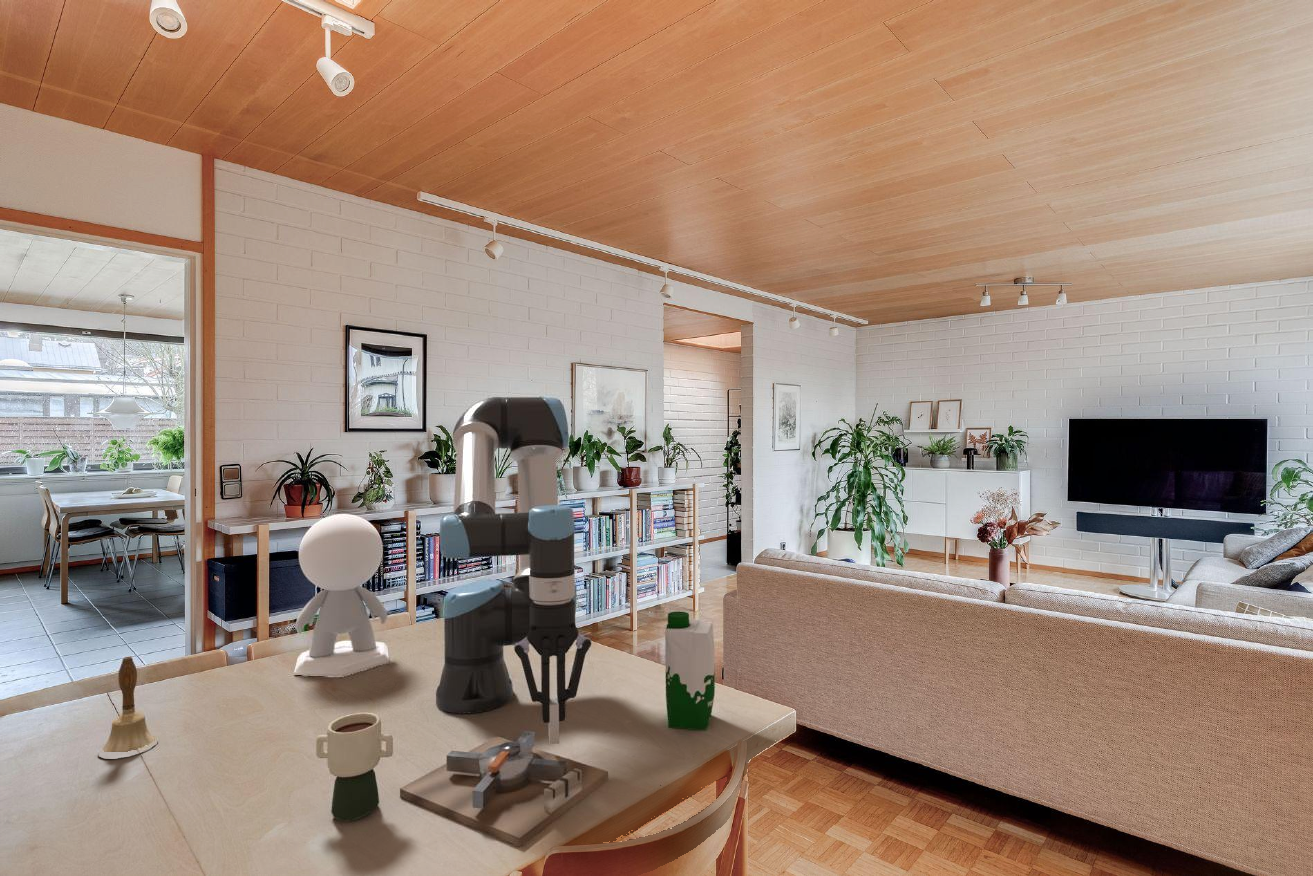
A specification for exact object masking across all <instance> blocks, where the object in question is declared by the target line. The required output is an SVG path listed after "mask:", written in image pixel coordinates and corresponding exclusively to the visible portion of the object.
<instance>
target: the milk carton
mask: <svg viewBox="0 0 1313 876" xmlns="http://www.w3.org/2000/svg"><path fill="white" fill-rule="evenodd" d="M664 636H665V637H664V638H665V640H664V641H665V646H664V647H665V652H664V653H665V701H666V715H667V725H668V726H667V727H668V728H672V729H685V730H697V731H698V730H699V731H707V730H708V727H709V724H710V719H711V716H712V711H713V707H714V699H715V691H716V690H715V688H716V687H715V686H716V684H715V681H716V680H715V679H716V676H715V674H716V673H715V672H716V671H715V665H716V664H715V640H714V639H715V638H714V637H715V636H714V627H713V621H708V620H707V621H706V620H705V621H704V620H700V619H690V614H689V613H688V612H686V611H671V612H669V613H668V614H667V623H666V628H665V633H664Z"/></svg>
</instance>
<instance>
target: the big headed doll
mask: <svg viewBox="0 0 1313 876" xmlns="http://www.w3.org/2000/svg"><path fill="white" fill-rule="evenodd" d="M298 548H299V549H298V562H299V566H300V568H301V571H302V573H303V575H304V576H305V577H306V579H307V580H308V581H309V582H311V584H313V585H315V586H316V587H318V588H320V589H322V590H321V591H319V592H318V593H316V594H315V595H314V596H313V597H312V598H311V599H310V600H309V601H308V602H307V603H306V604H305V606H304V607H303V608H302V610H301V611H300V613H299V614H298V616H297V618H296V621H295V622H296V623H295V630H296V632H297V633H298V634H299V635H300V634H302V633H303V630H304V629H303V627H305V626H306V625H308V626H309V627H312V626H313V624H314V620H315V617H316V615H317V613H318V615H317V617H316V618H317V619H316V621H315V625H314V629H313V632H312V637H311V641H310V645H309V646H310V647H309V649H308V650H306V651H303V652H301V653H300V654H299V655H298V656H297V660H296V663H295V668H294V671H293V676H294V675H306V676H305V677H308V676H307V675H310V676H311V675H312V676H314V675H315V676H316V675H317V676H342V677H343V676H346V675H348V674H352V673H355V672H359V673H361V672H360V671H362V670H365V669H368V668H371V667H375V668H377V667H376V666H378V665H381V666H383V665H382V664H384V665H386V664H385V663H387V664H389V663H390V656H389V647H388V646H387V644H386V643H384V642H383V641H381V642H379V641H376V639H375V635H374V630H373V627H372V624H371V619H370V617H369V614H368V611H367V609H368V610H369V613H370V615H371V618H372V619H373V620H375V619H376V617H377V618H379V619H380V621H381V624H382V625H385V624H386V623H387V621H388V612H387V609H386V607H385V606H384V604H383V603H382V601H380V599H379V598H378V597H377V596H376V595H375V594H374V593H373V592H371V591H370V590H369V589H367V588H365V587H363V586H362V585H363V584H365V583H367V582H368V581H369V580H370V579H371V578H372V577H373V576H374V575H375V573H376V572H377V571H378V569H379V567H380V566H381V562H382V559H383V551H384V547H383V541H382V538H381V536H380V534H379V531H378V530H377V529H376V527H375V526H374V525H373V524H372V523H371V522H370V521H368V520H366V519H365V518H363V517H361V516H358V515H355V514H349V513H337V514H332V515H329V516H326V517H324V518H321V519H320V520H318V521H317V522H316V523H314V524H313V525H312V526H311V527H309V529H308V530H307V531H306V532H305V534H304V535H303V537H302V540H301V542H300V545H299V547H298ZM341 634H348V636H349V639H350V640H341V641H336V640H337V636H338V635H341ZM378 667H379V666H378ZM371 669H372V668H371ZM368 670H369V669H368ZM365 671H366V670H365ZM362 672H363V671H362ZM355 674H356V673H355ZM352 675H353V674H352ZM346 677H347V676H346ZM343 678H344V677H343Z"/></svg>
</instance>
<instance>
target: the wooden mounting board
mask: <svg viewBox="0 0 1313 876" xmlns="http://www.w3.org/2000/svg"><path fill="white" fill-rule="evenodd" d="M506 742H514V741H512V740H510V739H506V738H504V737H500V736H498V735H497V736H494V737H493V738H491V739H489V740H487V741H485V742H484V743H482V744H480V745H478V746H476V747H474V748H473V749H470V750H469V751H467V752H471V753H483V752H484V751H486V750H488V749H490V748H492V747H495V746H498V745H502V744H503V743H506ZM532 752H533V758H535V759H546V760H556V761H567V774H566V775H565V776H563V777H561V778H559V779H558V780H557V781H556V782H552V781H542V780H531V781H530V782H529V783H528V784H527V785H525V786H523V787H521V788H519V789H516V790H512V791H507V792H497V793H496V794H495V795H494V796H493V797H492V799H491V800H490V801H489V802H488V804H487V805H486V806H485V807H484V809H480V808H473V798H472V790H473V789H474V788H475V787H476V786H477V785H478V784H479V774H473V773H463V772H453V771H447V762H446V763H445V764H443V765H441V766H439V767H437V768H436V769H433V770H432V771H429V772H428V773H426V774H423V776H421V777H419V778H417V779H415V780H414V781H411V782H409V783H407V784H406V785H403V786H402V787H400V788H399V797H400V798H403V799H405V800H407V801H409V802H412V803H414V804H417V805H419V806H421V807H425V808H427V809H428V810H431V811H432V812H433V811H434V812H436V813H438V814H440V815H443V816H445V817H447V818H450V819H452V820H455V821H456V822H459V823H461V824H463V825H465V826H466V825H467V826H468V827H472V828H474V829H476V830H479V831H480V832H483V833H485V834H488V835H489V836H490V835H491V836H493V837H495V838H497V839H500V840H502V841H505V842H507V843H509V844H511V845H513V846H516V847H519V848H520V847H523V845H525V844H526V843H527V842H529V841H530V840H531V839H532V838H533V837H535V836H536V835H538V834H539V833H541V831H542V830H544V829H545V828H547V827H548V826H549V825H551V824H552V823H553V822H555V821H556V820H557V819H558V818H560V817H561V816H562V815H564V814H565V813H566V812H568V811H569V810H570V809H571V808H573V807H574V806H575V805H576V804H578V803H579V802H580V801H582V800H583V799H585V798H586V797H587V796H589V795H590V794H591V793H593V792H594V791H596V789H598V788H599V787H601V785H602V784H604V783H605V782H607V781H608V780H609V771H608V770H604V769H602V768H598V767H594V766H591V765H589V764H585V763H583V762H579V761H576V760H572V759H570V758H567V757H563V756H560V755H556V754H554V753H551V752H547V751H544V750H542V749H538V748H536V747H533V748H532Z"/></svg>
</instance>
